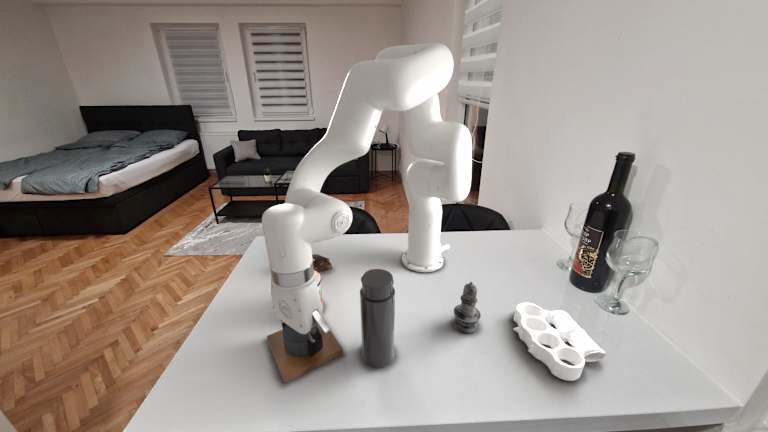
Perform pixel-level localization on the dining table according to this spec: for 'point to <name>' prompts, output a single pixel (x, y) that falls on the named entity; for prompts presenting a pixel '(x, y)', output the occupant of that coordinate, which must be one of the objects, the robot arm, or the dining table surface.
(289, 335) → the thermos lid
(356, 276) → the dining table surface
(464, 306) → the dark stone figurine
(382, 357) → the thermos
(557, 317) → the white brass knuckles
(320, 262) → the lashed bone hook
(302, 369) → the coaster
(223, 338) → the dining table surface
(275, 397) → the dining table surface
